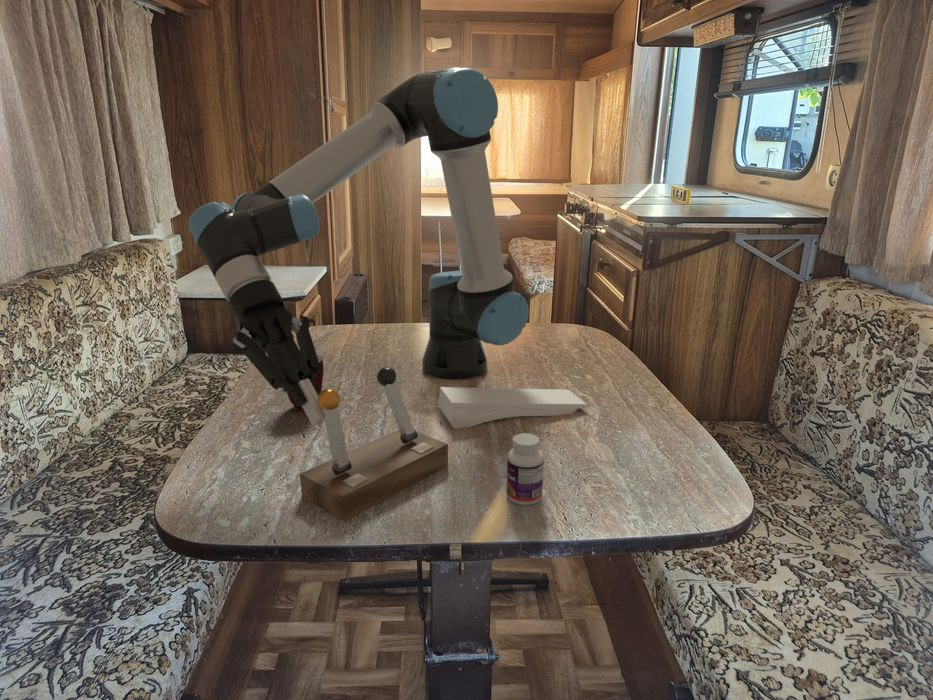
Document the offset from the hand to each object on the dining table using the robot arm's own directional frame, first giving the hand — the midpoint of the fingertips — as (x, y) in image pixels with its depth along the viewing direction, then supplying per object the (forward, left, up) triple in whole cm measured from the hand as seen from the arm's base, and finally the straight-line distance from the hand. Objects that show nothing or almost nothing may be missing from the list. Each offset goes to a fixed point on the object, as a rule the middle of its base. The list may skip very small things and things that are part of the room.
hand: (320, 420), depth 98 cm
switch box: (-8, -1, -12) cm, 15 cm away
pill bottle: (-28, +11, -12) cm, 33 cm away
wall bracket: (-39, -19, -13) cm, 46 cm away
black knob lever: (-14, -4, -7) cm, 16 cm away
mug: (0, -34, -12) cm, 36 cm away
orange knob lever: (-2, +3, -7) cm, 8 cm away
